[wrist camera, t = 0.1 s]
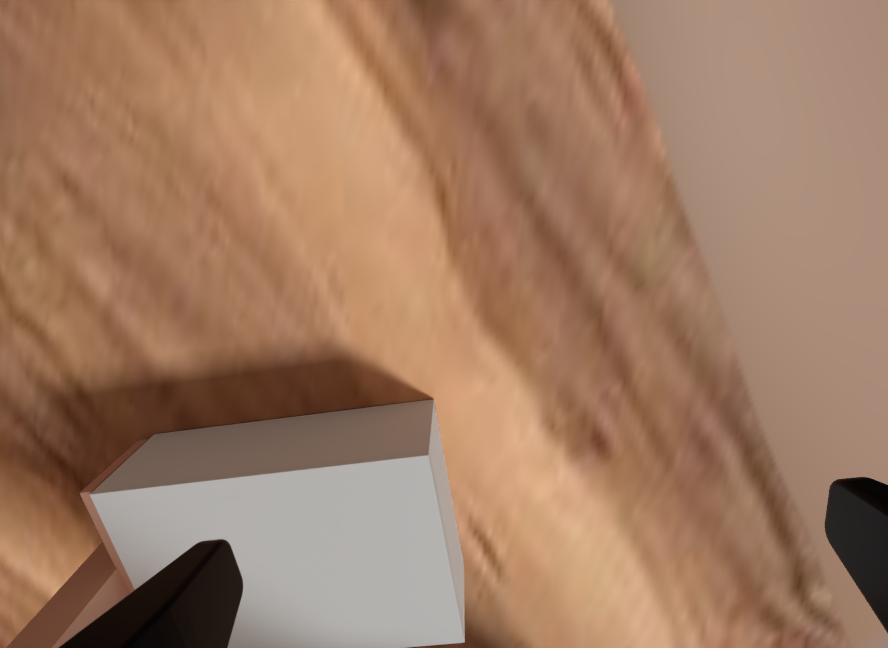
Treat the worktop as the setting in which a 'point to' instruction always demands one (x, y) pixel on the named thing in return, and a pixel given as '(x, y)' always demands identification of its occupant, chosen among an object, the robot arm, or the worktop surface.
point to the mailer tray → (82, 583)
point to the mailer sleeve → (305, 524)
